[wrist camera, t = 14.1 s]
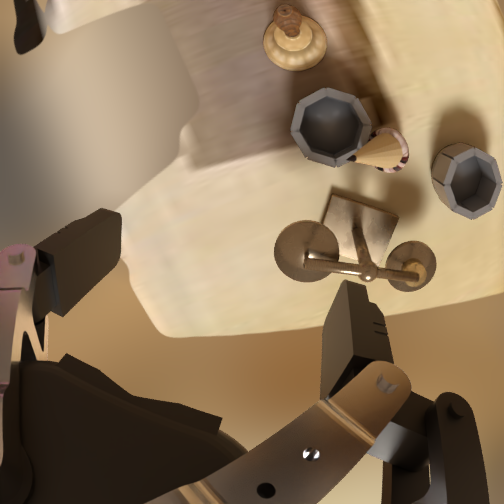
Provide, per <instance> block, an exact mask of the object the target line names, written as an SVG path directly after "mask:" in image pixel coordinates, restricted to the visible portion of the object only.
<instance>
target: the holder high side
mask: <svg viewBox="0 0 504 504" xmlns="http://www.w3.org/2000/svg"><path fill="white" fill-rule="evenodd" d="M355 97H356V96H354V95H351V94H348V93H344V92H341V91H338V90H335V89H331V88H328V87H327V88H326V89H325V88H322V89H320V90H318V91H316V92H315V93H313V94H311V95H309V96H307V97H305V98H303V99H301V100H300V101H299V102H300V104H299V103H297V106H296V109H295V113H294V117H293V121H292V125H291V129H290V131H292V132H291V135H292V136H293V138H294V140H295V141H296V143H297V145H298V146H299V148H300V150H301V151H302V153H303V155H304V156H305V158H306V157H308V158H307V159H308V160H311V161H315V162H318V163H321V164H325V165H328V166H331V167H334V168H335V166H337V167H340V166H342V165H344V164H346V163H348V162H350V161H347V160H346V159H348V158H349V157H350V156H351V155H353V154H354V153H355V152H357V151H358V150H359V149H360V148H362V147H363V146H364V145H365V144H367V142H368V139H369V136H370V132H371V129H372V126H370V124H372V123H371V121H370V119H369V117H368V115H367V113H366V112H365V110H364V108H363V106H362V104H361V103H360V101H359V99H358V98H355Z"/></svg>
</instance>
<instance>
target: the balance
mask: <svg viewBox="0 0 504 504" xmlns="http://www.w3.org/2000/svg"><path fill="white" fill-rule="evenodd" d="M398 220H399V217H398V216H397V215H395V214H392V213H389V212H387V211H384V210H381V209H378V208H375V207H372V206H369V205H366V204H363V203H360V202H357V201H354V200H351V199H348V198H345V197H342V196H338V195H335V194H332V196H331V199H330V202H329V205H328V208H327V211H326V214H325V217H324V220H323V223H322V224H321V223H319V222H316V221H311V220H302V221H297V222H294V223H292V224H290V225H288V226H287V227H285V228H284V229H283V230H282V231H281V233H280V234H279V236H278V238H277V240H276V243H275V247H274V257H275V261H276V263H277V265H278V267H279V268H280V270H281V271H282V272H283V273H284V274H285V275H286V276H288V277H290V278H291V279H294V280H296V281H300V282H315V281H318V280H321V279H323V278H325V277H327V276H328V275H329V274H330V273H331V272H332V273H341V274H349V275H357V276H358V277H359V278H360V279H361V280H362V281H364V282H371V281H373V280H375V279H376V278H382V279H388V281H389V282H390V284H391V285H392V286H393V287H394V288H396V289H397V290H400V291H404V292H411V291H416V290H418V289H421V288H422V287H424V286H425V285H426V284H428V283H429V281H430V280H431V279H432V277H433V276H434V273H435V270H436V258H435V255H434V253H433V252H432V250H431V249H430V248H429V246H427V245H426V244H424V243H422V242H419V241H408V242H404V243H402V244H400V245H398V246H397V247H396V248H395V249H393V251H392V252H391V253H390V254H389V256H388V258H387V261H386V265H385V268H380V267H379V264H380V262H381V260H382V258H383V255H384V253H385V251H386V249H387V246H388V244H389V241H390V239H391V237H392V234H393V232H394V229H395V227H396V225H397V222H398ZM339 255H342V256H345V257H349V258H352V259H355V260H358V262H359V264H352V263H345V262H338V260H339ZM377 266H378V267H377Z"/></svg>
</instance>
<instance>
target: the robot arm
mask: <svg viewBox="0 0 504 504" xmlns="http://www.w3.org/2000/svg"><path fill="white" fill-rule="evenodd" d="M121 229H122V217H121V215H120V213H118V212H114V211H111V210H107V209H103V208H100V209H98V210H97V211H95V212H93V213H92V214H90V215H88V216H87V217H85V218H82V219H79V220H75V221H73V222H72V223H70V224H68V225H67V226H65V228H62V229H60V230H59V231H58V232H57V233H54V234H52V235H51V236H49V237H48V238H46V239H45V240H43V241H42V242H40V243H39V244H37V245H36V246H34V247H32V246H30V245H26V244H16V245H12V246H9V247H7V248H5V249H3V250H2V251H1V252H0V504H317V503H318V502H319V501H320V500H321V499H322V498H323V497H325V496H326V495H327V494H328V493H329V492H330V491H331V490H332V489H333V488H334V487H335V486H336V485H337V484H338V483H339V482H340V481H341V480H342V479H343V478H344V477H345V476H346V474H348V472H349V471H350V470H351V469H352V468H353V467H354V466H355V465H356V464H357V463H358V462H359V461H360V459H361V458H362V457H363V456H364V455H365V454H366V453H367V454H369V455H371V456H374V457H376V458H378V459H381V460H383V481H382V501H381V504H490V503H489V494H488V486H487V479H486V472H485V466H484V461H483V455H482V450H481V444H480V440H479V435H478V430H477V426H476V422H475V418H474V414H473V411H472V408H471V407H470V405H469V404H468V402H467V401H466V400H465V399H464V398H462V397H461V396H459V395H458V394H455V393H452V392H445V393H442V394H440V395H439V397H438V398H437V399H436V400H435V401H434V402H433V401H431V400H429V399H427V398H424V397H423V396H420V395H418V394H416V393H414V392H412V391H411V383H410V380H409V378H408V376H407V375H406V374H405V373H404V371H403V370H401V369H400V368H399V367H397V366H396V365H394V362H393V357H392V352H391V347H390V342H389V337H388V336H387V335H388V333H387V329H386V327H385V326H386V324H385V320H384V315H383V313H382V312H381V311H380V309H379V308H378V306H377V305H376V304H375V303H371V302H369V299H368V294H367V289H366V286H365V285H362V284H358V283H355V282H351V281H348V280H343V282H342V283H341V285H340V288H339V290H338V292H337V294H336V297H335V299H334V301H333V303H332V306H331V308H330V310H329V312H328V315H327V317H326V320H325V323H324V327H323V334H322V365H321V385H320V401H319V402H317V403H316V404H314V405H313V406H312V407H311V408H309V409H308V410H307V411H305V412H304V413H303V414H301V415H300V416H299V417H297V418H296V419H295V420H294V421H292V422H291V423H289V424H288V425H286V426H285V427H284V428H282V429H281V430H280V431H278V432H277V433H275V434H274V435H272V436H271V437H270V438H268V439H267V440H265V441H264V442H262V443H261V444H259V445H258V446H256V447H255V448H253V449H252V450H250V451H249V452H248V451H247V450H246V449H245V448H244V447H243V446H242V445H241V444H240V443H238V442H237V441H236V440H235V439H233V438H232V437H230V436H229V435H228V434H226V433H224V432H223V431H221V430H219V427H220V424H221V421H222V418H221V417H218V416H215V415H212V414H208V413H205V412H202V411H199V410H196V409H193V408H190V407H188V406H185V405H182V404H179V403H172V402H166V401H160V400H154V399H148V398H142V397H137V396H133V395H131V394H129V393H128V392H127V391H125V390H124V389H123V388H121V387H120V386H119V385H117V384H116V383H115V382H114V381H112V380H111V379H110V378H109V377H107V376H106V375H105V374H104V373H102V372H101V371H100V370H98V369H96V368H94V367H92V366H90V365H88V364H86V363H84V362H82V361H80V360H78V359H77V358H74V357H73V356H71V355H69V354H65V356H64V357H63V358H62V359H61V360H60V362H59V363H58V362H52V361H48V317H47V314H48V313H49V312H50V311H52V312H54V313H56V314H57V315H60V316H62V317H64V316H65V315H66V314H67V313H68V312H69V311H70V309H72V308H73V307H74V306H75V305H76V304H77V303H78V302H79V301H80V300H81V299H82V298H83V297H84V296H85V295H86V294H87V293H88V292H89V291H90V290H91V289H92V288H93V287H94V286H95V285H96V284H97V283H98V282H99V281H100V280H102V279H103V278H104V277H105V276H106V275H107V274H108V273H109V272H110V271H111V270H112V269H113V268H114V267H115V266H116V265H117V263H118V261H119V258H120V254H121ZM429 464H430V475H431V482H430V478H429Z"/></svg>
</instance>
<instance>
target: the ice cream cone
mask: <svg viewBox="0 0 504 504" xmlns="http://www.w3.org/2000/svg"><path fill="white" fill-rule="evenodd" d="M408 158H409V149H408V145H407V142H406V140H405V138H404V137H403V136H402V135H401V134H400V133H399V132H398V131H397V130H395V129H392V128H381V129H378V130H376V131H374V132H373V133H372V134H371V136H370V137H369V140H368V142H367V144H365V145H364V146H363V147H362V148H360V149H359V150H358V151H357V152H355V153H354V154H353V155H351V156H350V157H349V158H348V159H346V160H347V161H352V162H357V163H362V164H367V165H372V166H374V167H375V168H376V169H378V170H381V171H384V172H388V173H393V172H397V171H399V170H401V169H402V168H403V167H404V166H405V164H406V162H407V161H408Z"/></svg>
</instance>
